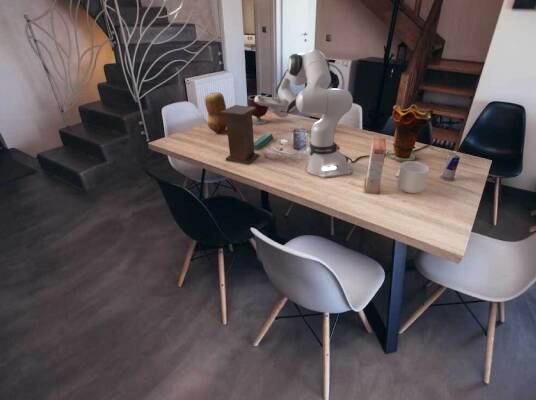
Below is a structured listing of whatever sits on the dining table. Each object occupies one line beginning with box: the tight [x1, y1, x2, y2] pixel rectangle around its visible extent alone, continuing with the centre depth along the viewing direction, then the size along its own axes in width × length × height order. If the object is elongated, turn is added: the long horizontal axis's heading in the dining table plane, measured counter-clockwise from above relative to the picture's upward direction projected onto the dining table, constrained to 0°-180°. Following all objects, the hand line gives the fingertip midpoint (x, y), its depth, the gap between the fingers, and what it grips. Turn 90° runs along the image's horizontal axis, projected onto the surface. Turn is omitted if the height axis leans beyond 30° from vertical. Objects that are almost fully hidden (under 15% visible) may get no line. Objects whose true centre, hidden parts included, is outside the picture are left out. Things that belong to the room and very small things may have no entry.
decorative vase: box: [386, 104, 434, 162], centre depth 166 cm, size 21×23×28 cm
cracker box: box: [365, 137, 387, 194], centre depth 136 cm, size 14×6×21 cm, turn 168°
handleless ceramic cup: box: [396, 160, 430, 194], centre depth 137 cm, size 12×12×11 cm
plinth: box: [220, 104, 260, 165], centre depth 158 cm, size 14×13×26 cm
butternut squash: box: [204, 91, 227, 134], centre depth 193 cm, size 14×13×25 cm
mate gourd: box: [247, 93, 270, 126], centre depth 216 cm, size 16×14×20 cm
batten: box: [254, 132, 273, 151], centre depth 184 cm, size 22×4×3 cm, turn 162°
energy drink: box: [441, 152, 461, 181], centre depth 148 cm, size 5×5×12 cm
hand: (266, 97), depth 176 cm, fingers open, 8 cm apart
